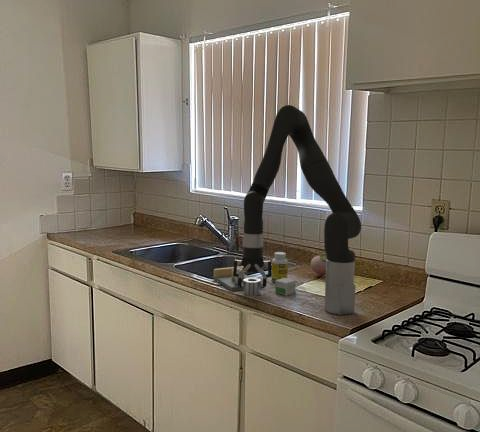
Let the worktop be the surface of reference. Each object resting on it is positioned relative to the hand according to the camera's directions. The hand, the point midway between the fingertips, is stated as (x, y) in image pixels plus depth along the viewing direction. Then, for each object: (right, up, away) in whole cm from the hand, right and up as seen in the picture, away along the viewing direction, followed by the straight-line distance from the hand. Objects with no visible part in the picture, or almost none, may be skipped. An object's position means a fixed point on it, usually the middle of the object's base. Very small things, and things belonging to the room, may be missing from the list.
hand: (252, 287), depth 184 cm
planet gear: (0, -2, 0) cm, 2 cm away
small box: (+13, -2, +1) cm, 13 cm away
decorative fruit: (+30, +1, +26) cm, 39 cm away
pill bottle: (+12, 0, +17) cm, 21 cm away
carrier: (-6, 0, +13) cm, 14 cm away
